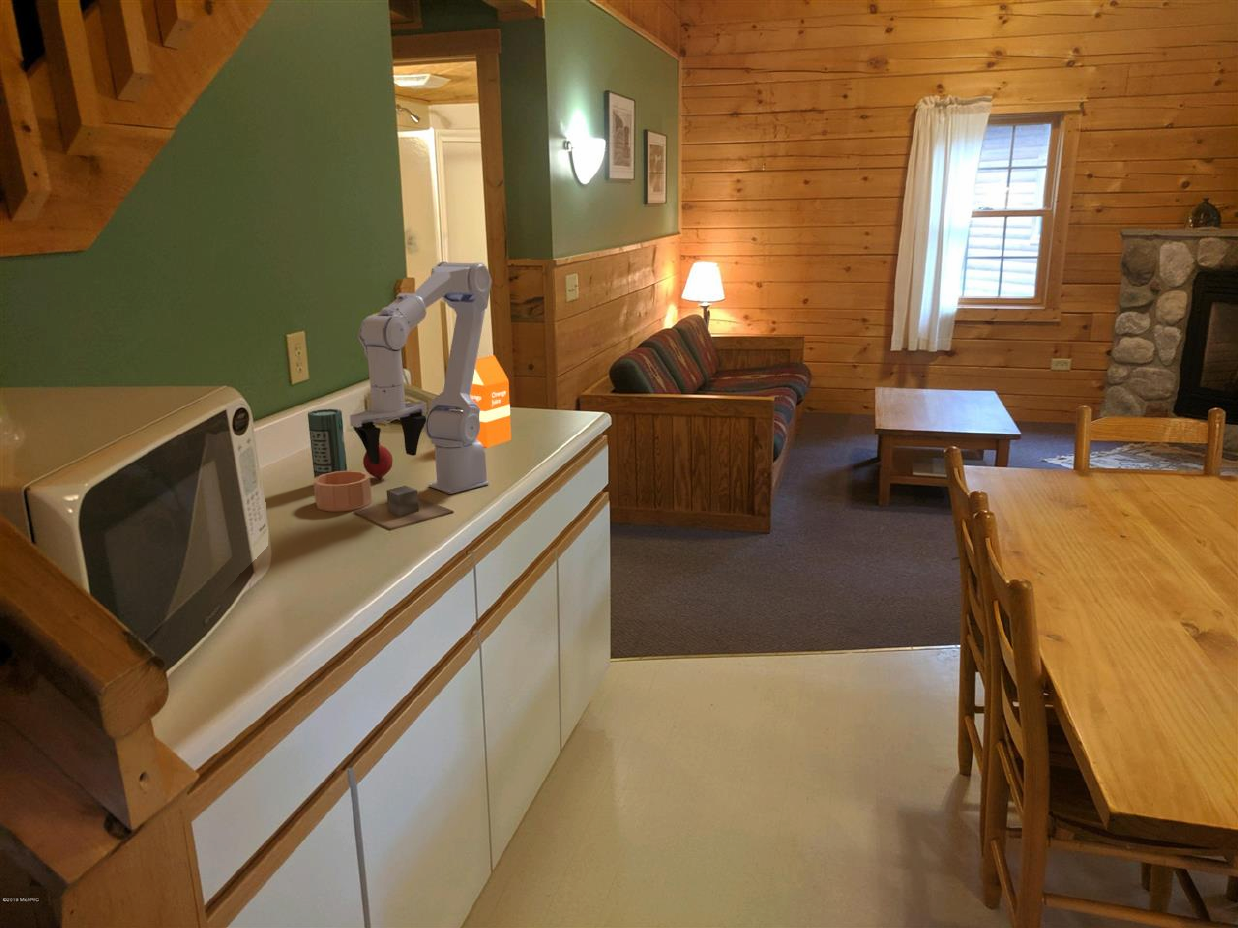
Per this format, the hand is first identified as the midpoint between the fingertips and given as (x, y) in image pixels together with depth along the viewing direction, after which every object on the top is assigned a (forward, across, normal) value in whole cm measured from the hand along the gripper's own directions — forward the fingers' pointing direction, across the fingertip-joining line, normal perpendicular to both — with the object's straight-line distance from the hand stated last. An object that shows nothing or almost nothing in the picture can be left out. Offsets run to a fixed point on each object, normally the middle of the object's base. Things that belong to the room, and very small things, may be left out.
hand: (393, 458), depth 166 cm
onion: (+11, -10, -22) cm, 26 cm away
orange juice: (+11, -45, -29) cm, 55 cm away
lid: (+11, -1, +1) cm, 11 cm away
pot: (+10, +3, -13) cm, 17 cm away
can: (+11, -1, -25) cm, 27 cm away
